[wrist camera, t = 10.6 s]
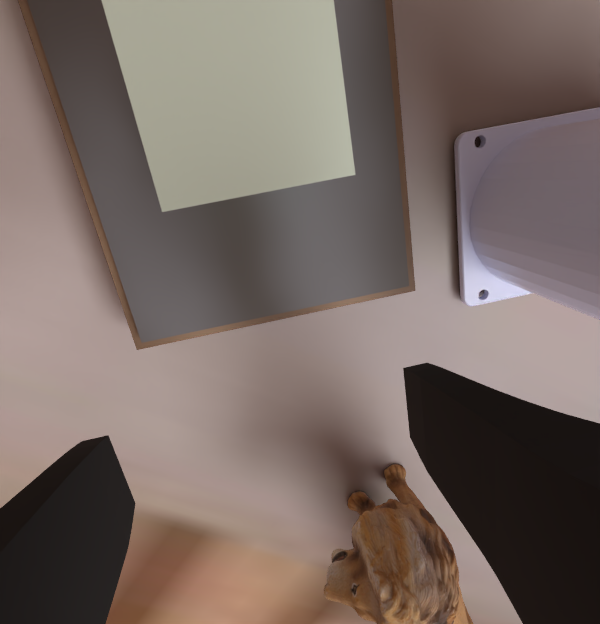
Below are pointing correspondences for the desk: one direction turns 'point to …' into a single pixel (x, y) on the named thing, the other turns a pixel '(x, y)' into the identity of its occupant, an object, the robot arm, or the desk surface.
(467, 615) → the lion figurine
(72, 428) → the desk surface
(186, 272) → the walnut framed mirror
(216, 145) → the sage block
